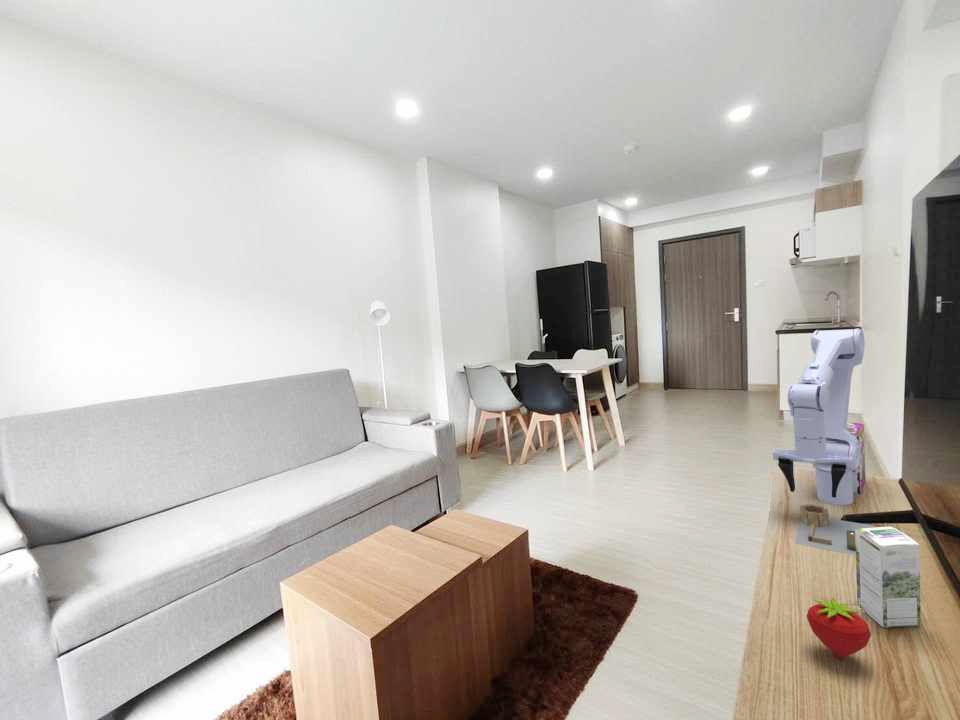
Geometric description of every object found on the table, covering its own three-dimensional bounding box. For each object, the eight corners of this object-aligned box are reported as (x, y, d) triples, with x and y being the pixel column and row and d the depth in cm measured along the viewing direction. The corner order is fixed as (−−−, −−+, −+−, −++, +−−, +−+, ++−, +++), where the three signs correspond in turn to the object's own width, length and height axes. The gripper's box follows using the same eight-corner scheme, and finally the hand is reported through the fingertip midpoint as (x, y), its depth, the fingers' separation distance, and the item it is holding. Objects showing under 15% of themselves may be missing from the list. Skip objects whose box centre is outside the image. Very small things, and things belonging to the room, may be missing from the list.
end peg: (847, 545, 93) (846, 529, 92) (858, 547, 92) (857, 531, 91) (846, 549, 91) (846, 533, 91) (858, 551, 90) (857, 535, 90)
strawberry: (871, 682, 63) (868, 616, 62) (805, 658, 68) (802, 597, 67) (873, 655, 67) (870, 593, 66) (811, 635, 72) (808, 577, 71)
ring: (802, 514, 107) (801, 502, 106) (829, 519, 103) (828, 506, 103) (799, 524, 103) (799, 511, 103) (827, 528, 100) (827, 516, 99)
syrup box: (892, 603, 76) (889, 524, 75) (923, 628, 71) (920, 542, 69) (856, 605, 77) (853, 526, 76) (884, 630, 71) (880, 544, 70)
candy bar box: (861, 496, 113) (859, 434, 112) (836, 492, 117) (833, 432, 115) (867, 481, 121) (864, 422, 119) (843, 478, 124) (840, 421, 123)
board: (803, 517, 107) (802, 505, 107) (875, 529, 99) (874, 516, 98) (795, 546, 96) (794, 533, 96) (875, 562, 87) (875, 548, 87)
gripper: (769, 438, 103) (772, 494, 104) (850, 444, 93) (853, 505, 95) (774, 429, 108) (777, 483, 110) (851, 434, 99) (854, 493, 100)
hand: (812, 492), depth 102 cm, fingers open, 7 cm apart
